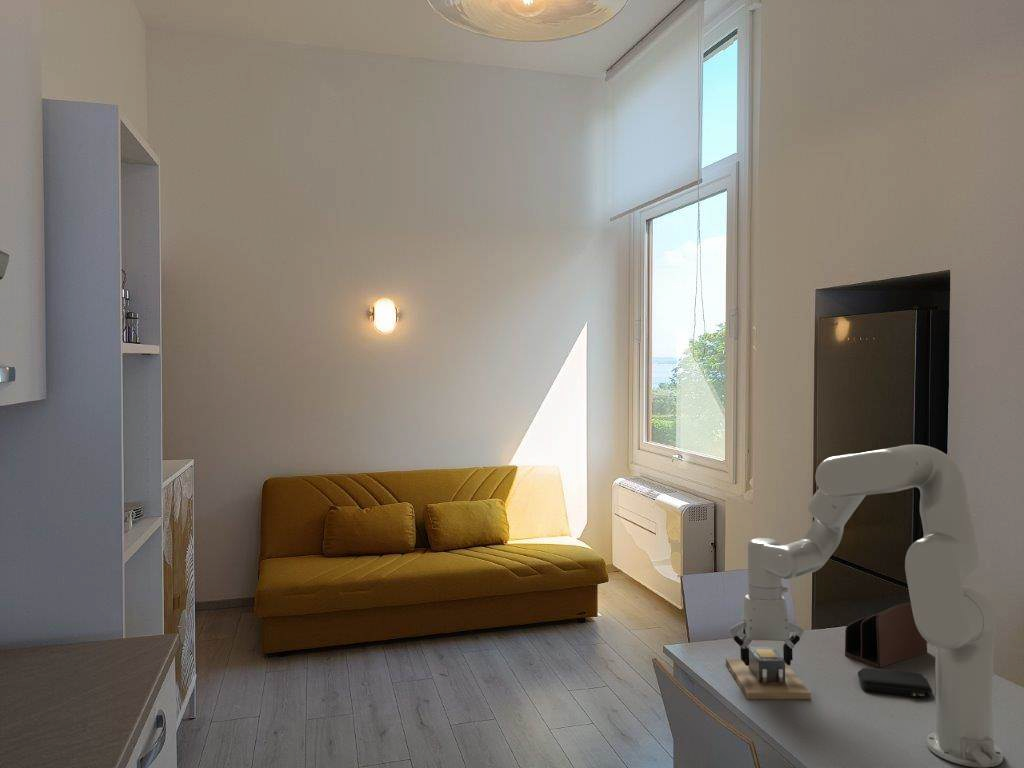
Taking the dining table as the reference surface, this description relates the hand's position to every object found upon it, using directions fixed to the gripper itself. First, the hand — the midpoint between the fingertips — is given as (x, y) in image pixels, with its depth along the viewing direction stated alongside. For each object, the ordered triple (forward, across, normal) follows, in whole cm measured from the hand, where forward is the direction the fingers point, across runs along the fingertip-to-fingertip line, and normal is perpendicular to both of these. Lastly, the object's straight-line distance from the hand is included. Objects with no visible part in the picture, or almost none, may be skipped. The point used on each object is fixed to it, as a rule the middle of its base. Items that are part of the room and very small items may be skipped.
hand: (766, 663), depth 179 cm
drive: (+3, 0, 0) cm, 3 cm away
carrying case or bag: (+5, -28, +4) cm, 29 cm away
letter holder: (+5, -35, -17) cm, 39 cm away
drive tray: (+4, 0, 0) cm, 4 cm away
